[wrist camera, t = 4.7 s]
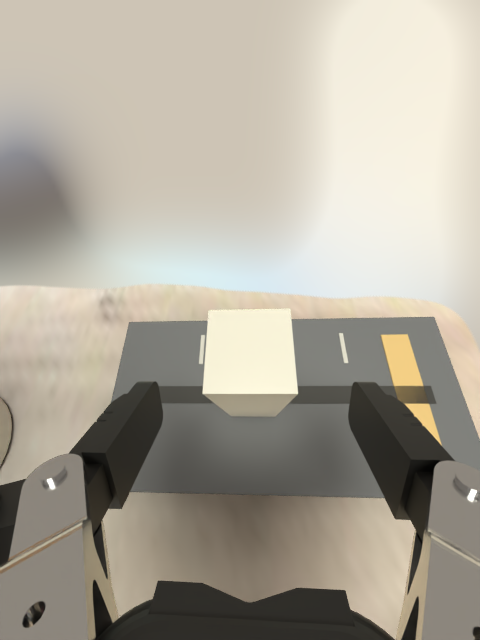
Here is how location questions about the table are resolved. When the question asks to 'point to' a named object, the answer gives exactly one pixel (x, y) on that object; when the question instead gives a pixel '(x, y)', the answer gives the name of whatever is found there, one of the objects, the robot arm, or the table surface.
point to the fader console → (292, 408)
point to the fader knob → (250, 361)
